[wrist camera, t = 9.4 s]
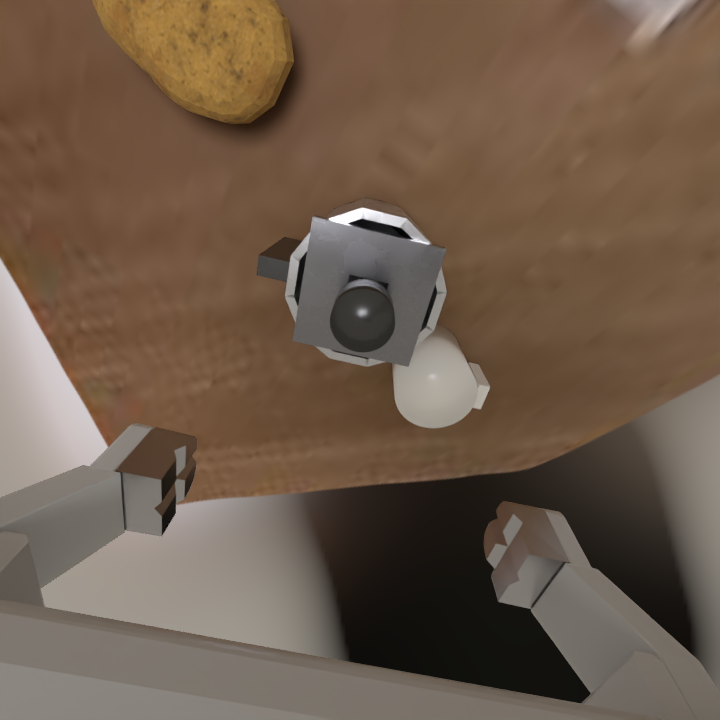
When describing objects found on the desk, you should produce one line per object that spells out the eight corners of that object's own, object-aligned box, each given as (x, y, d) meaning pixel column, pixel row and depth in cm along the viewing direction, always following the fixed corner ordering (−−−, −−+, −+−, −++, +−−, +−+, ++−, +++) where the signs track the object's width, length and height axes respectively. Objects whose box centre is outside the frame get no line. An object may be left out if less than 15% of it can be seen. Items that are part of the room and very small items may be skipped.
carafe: (440, 215, 34) (469, 235, 23) (407, 324, 38) (418, 383, 28) (296, 179, 33) (259, 183, 22) (280, 295, 38) (242, 344, 27)
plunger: (421, 231, 33) (451, 271, 20) (397, 313, 36) (409, 394, 23) (334, 209, 32) (305, 236, 19) (318, 294, 36) (284, 367, 22)
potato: (258, 157, 32) (230, 154, 26) (114, 45, 29) (44, 11, 23) (319, 47, 29) (303, 13, 23) (163, -94, 26) (97, -177, 20)
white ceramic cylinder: (481, 334, 39) (505, 371, 31) (457, 392, 42) (474, 438, 34) (401, 315, 38) (407, 349, 31) (383, 375, 41) (385, 419, 34)
